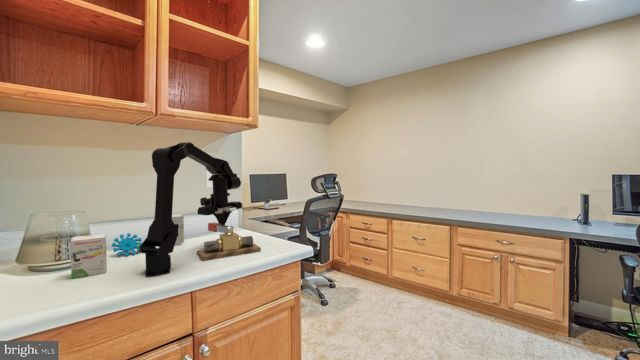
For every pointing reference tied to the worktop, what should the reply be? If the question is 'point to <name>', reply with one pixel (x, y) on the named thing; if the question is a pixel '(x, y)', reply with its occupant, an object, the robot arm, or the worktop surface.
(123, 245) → the blue spiky virus toy
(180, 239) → the supplement box
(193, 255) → the worktop surface
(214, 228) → the valve lever
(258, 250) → the mount board
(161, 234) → the robot arm
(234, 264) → the worktop surface
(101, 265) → the white pink medicine box
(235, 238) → the valve pipe
